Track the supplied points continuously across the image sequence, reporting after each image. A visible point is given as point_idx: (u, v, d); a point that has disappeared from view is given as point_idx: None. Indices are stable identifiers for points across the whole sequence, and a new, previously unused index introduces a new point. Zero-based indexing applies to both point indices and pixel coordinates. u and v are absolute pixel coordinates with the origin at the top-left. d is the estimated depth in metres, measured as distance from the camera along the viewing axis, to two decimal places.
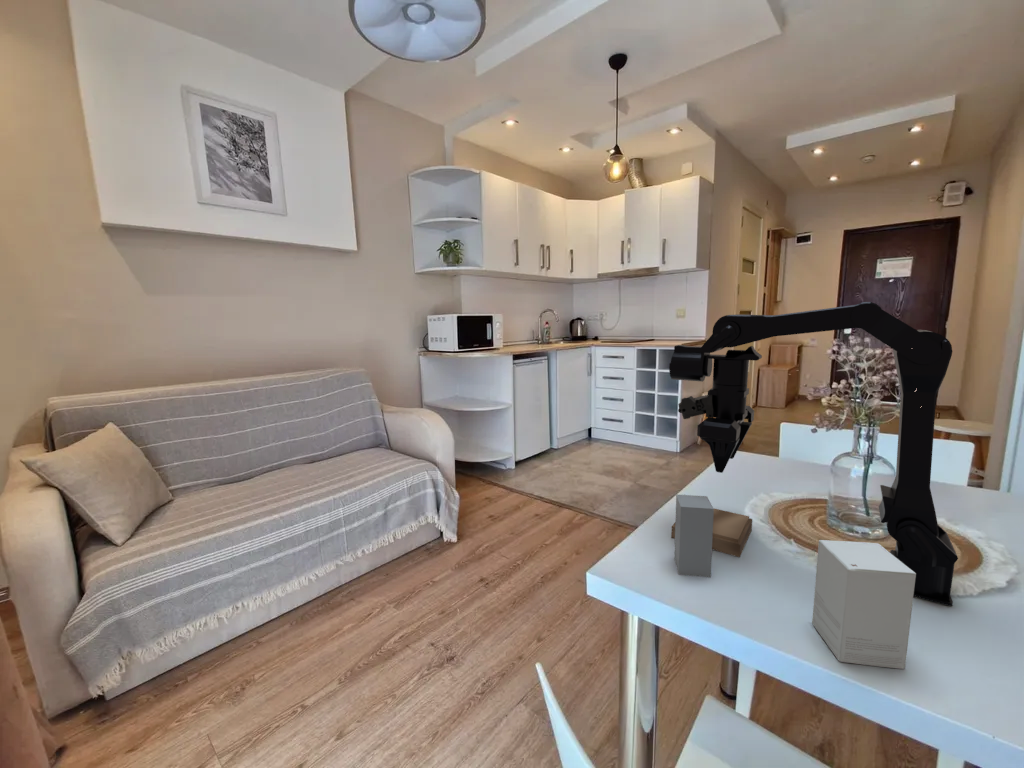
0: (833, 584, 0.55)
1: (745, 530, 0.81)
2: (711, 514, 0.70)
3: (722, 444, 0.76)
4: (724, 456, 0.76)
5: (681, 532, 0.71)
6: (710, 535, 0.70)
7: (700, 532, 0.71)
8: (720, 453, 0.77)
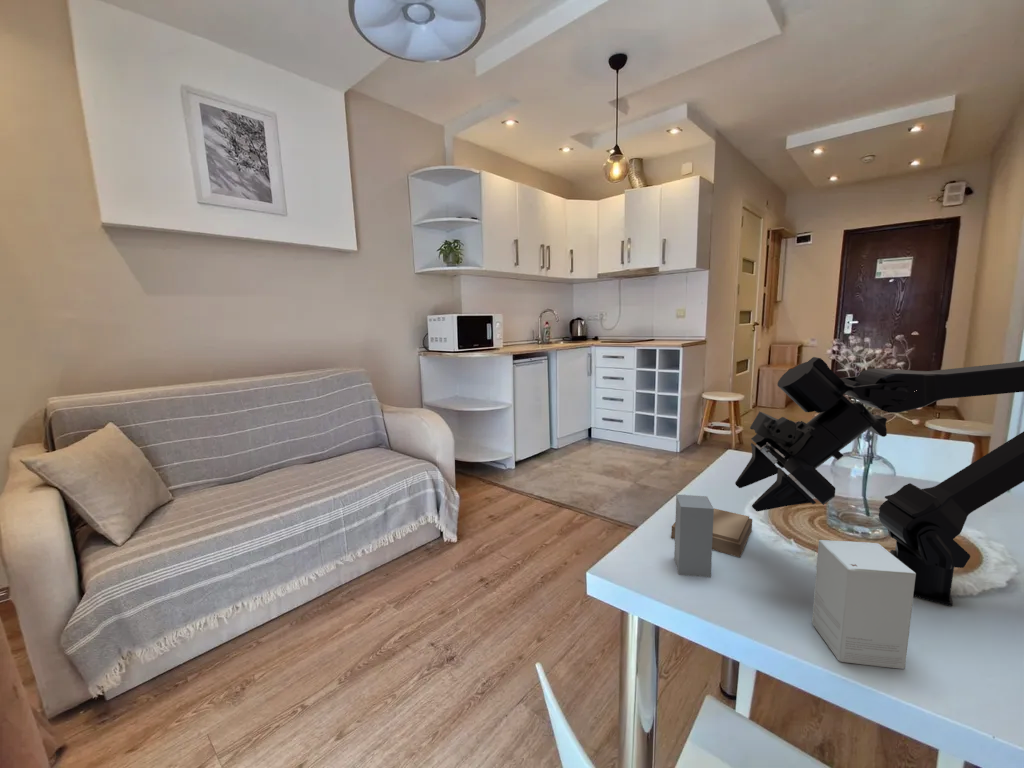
0: (833, 584, 0.55)
1: (745, 530, 0.81)
2: (711, 514, 0.70)
3: (790, 491, 0.63)
4: (780, 502, 0.64)
5: (681, 532, 0.71)
6: (710, 535, 0.70)
7: (700, 532, 0.71)
8: (779, 497, 0.64)
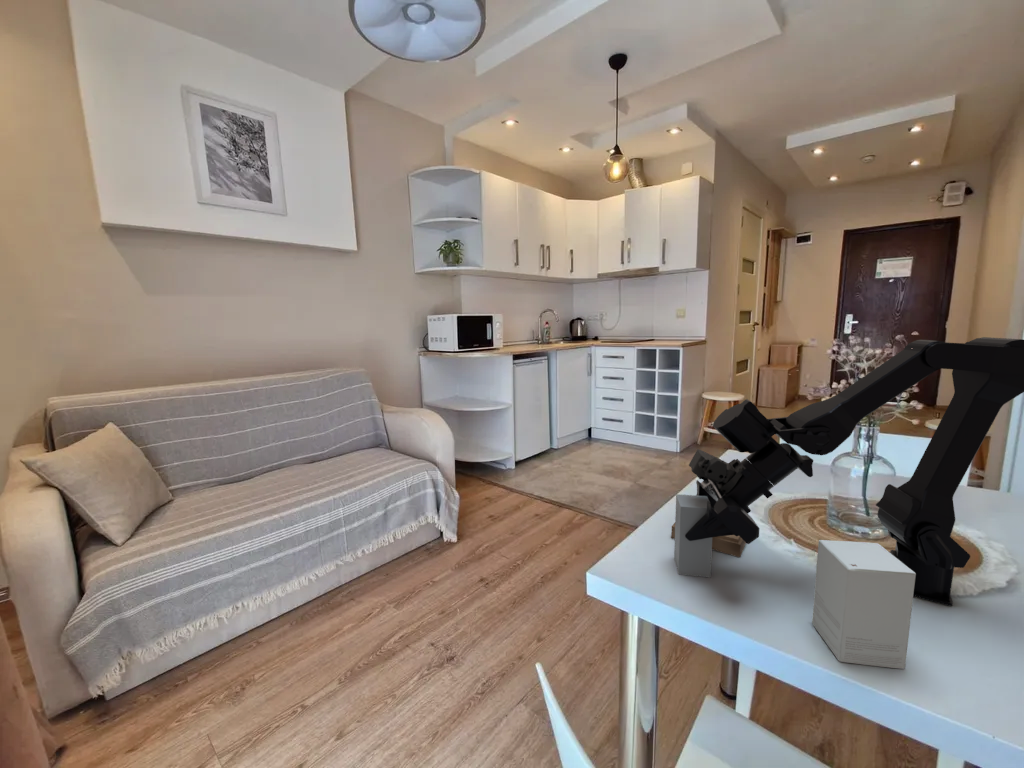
0: (833, 584, 0.55)
1: None
2: None
3: (718, 523, 0.68)
4: (709, 533, 0.69)
5: (681, 532, 0.71)
6: None
7: None
8: (708, 528, 0.69)
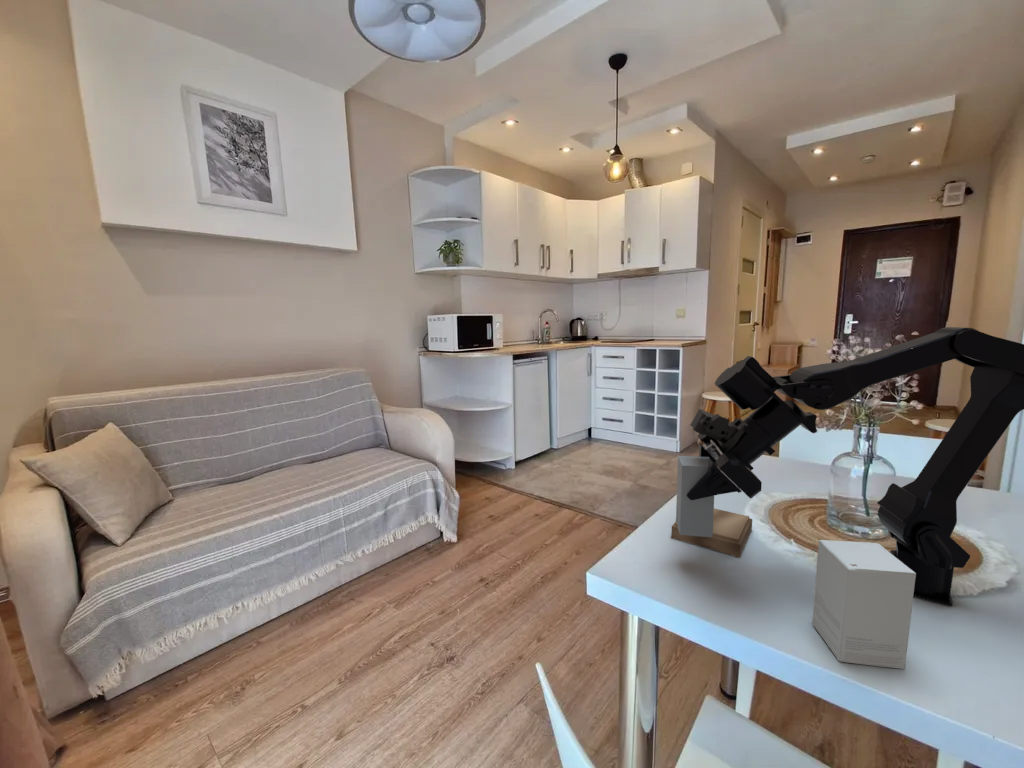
0: (833, 584, 0.55)
1: (745, 530, 0.81)
2: None
3: (720, 481, 0.68)
4: (710, 491, 0.68)
5: (682, 491, 0.71)
6: None
7: None
8: (710, 486, 0.68)
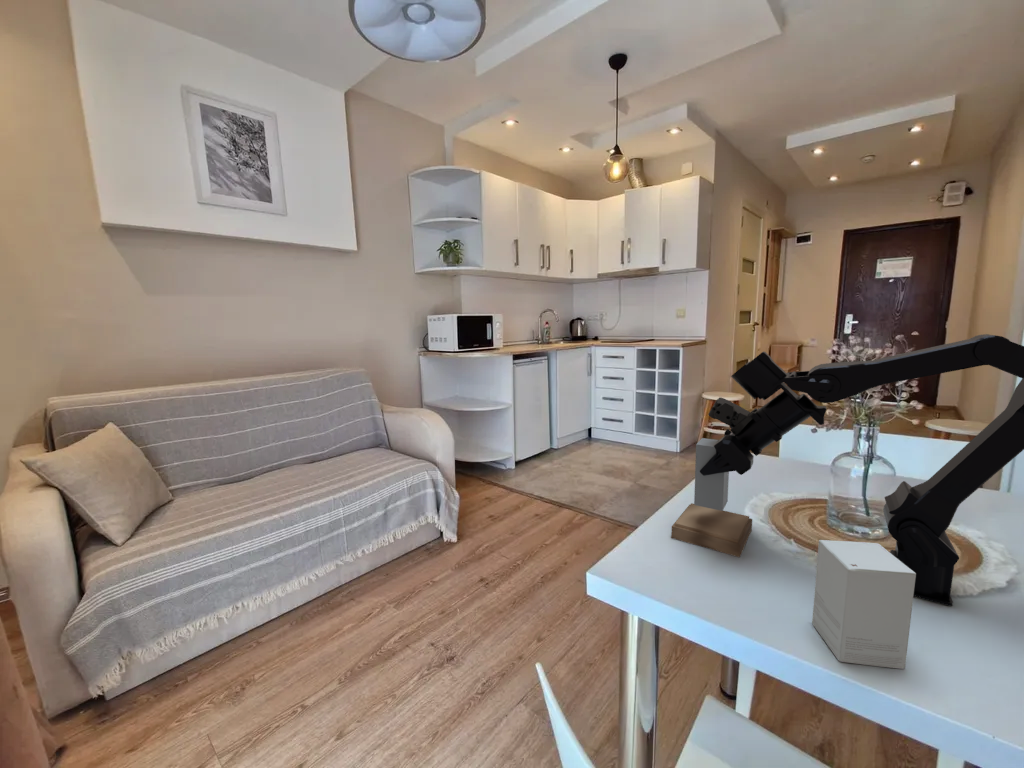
0: (833, 584, 0.55)
1: (745, 530, 0.81)
2: None
3: (726, 460, 0.77)
4: (718, 469, 0.78)
5: (696, 467, 0.81)
6: None
7: None
8: (717, 464, 0.78)
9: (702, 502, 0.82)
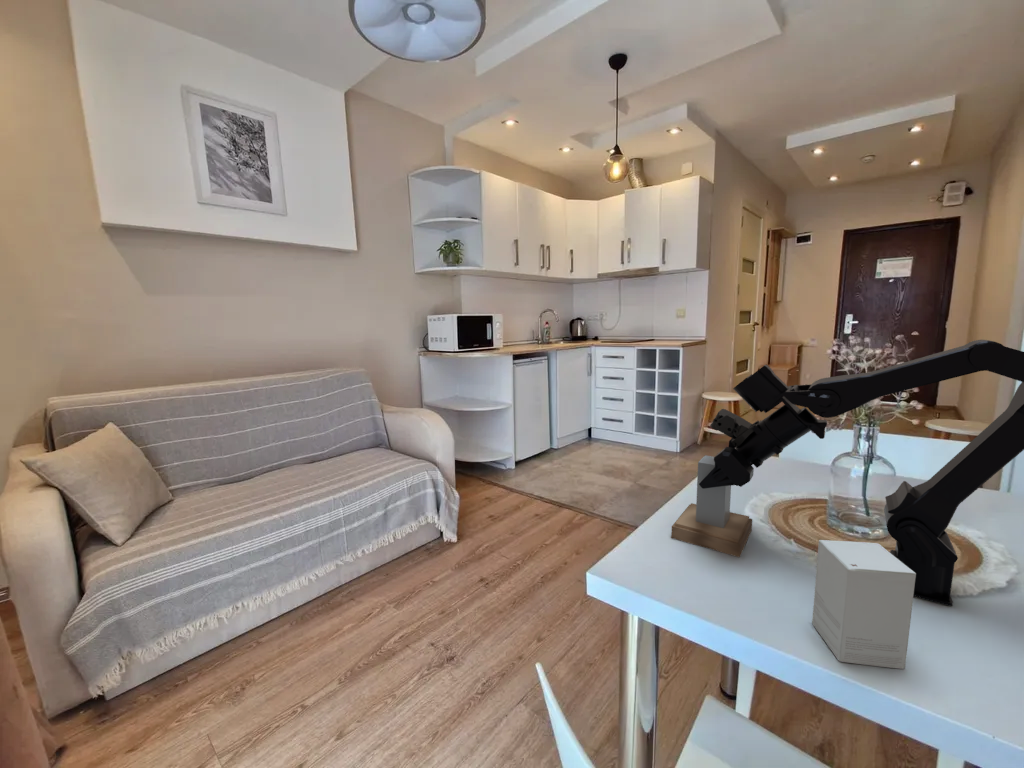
0: (833, 584, 0.55)
1: (745, 530, 0.81)
2: None
3: (725, 474, 0.77)
4: (717, 482, 0.78)
5: (698, 484, 0.83)
6: (723, 490, 0.80)
7: (714, 487, 0.81)
8: (716, 478, 0.78)
9: (703, 519, 0.83)
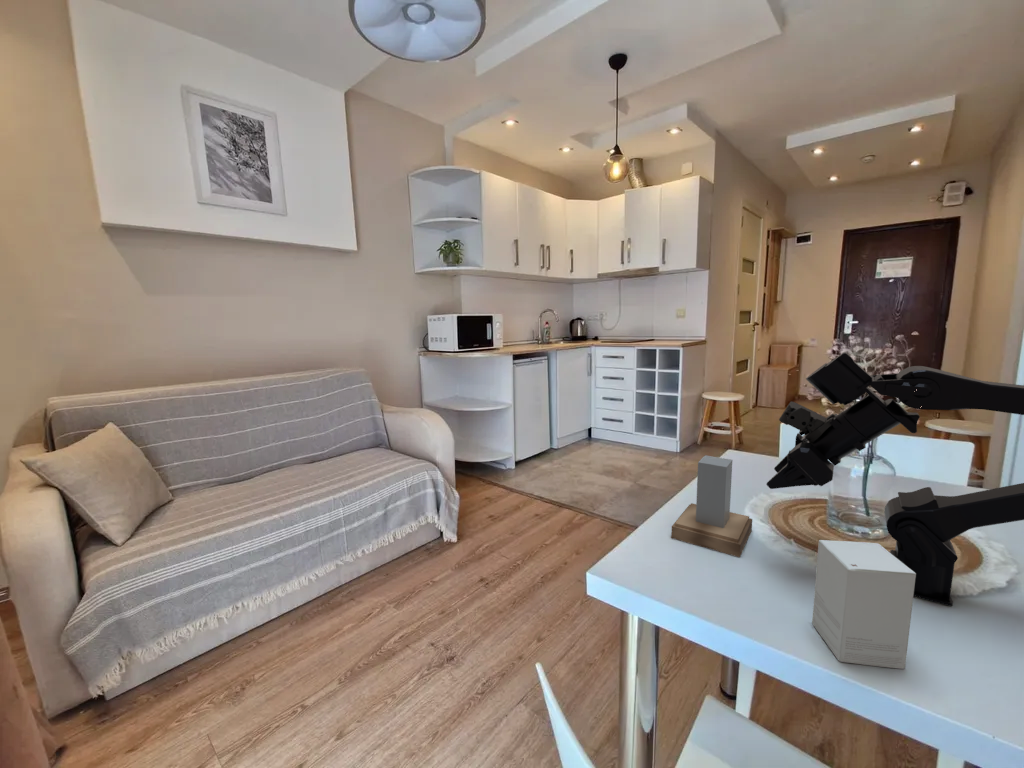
0: (833, 584, 0.55)
1: (745, 530, 0.81)
2: (724, 471, 0.80)
3: (799, 473, 0.70)
4: (789, 482, 0.71)
5: (698, 484, 0.83)
6: (723, 490, 0.80)
7: (714, 487, 0.81)
8: (788, 477, 0.71)
9: (703, 519, 0.83)
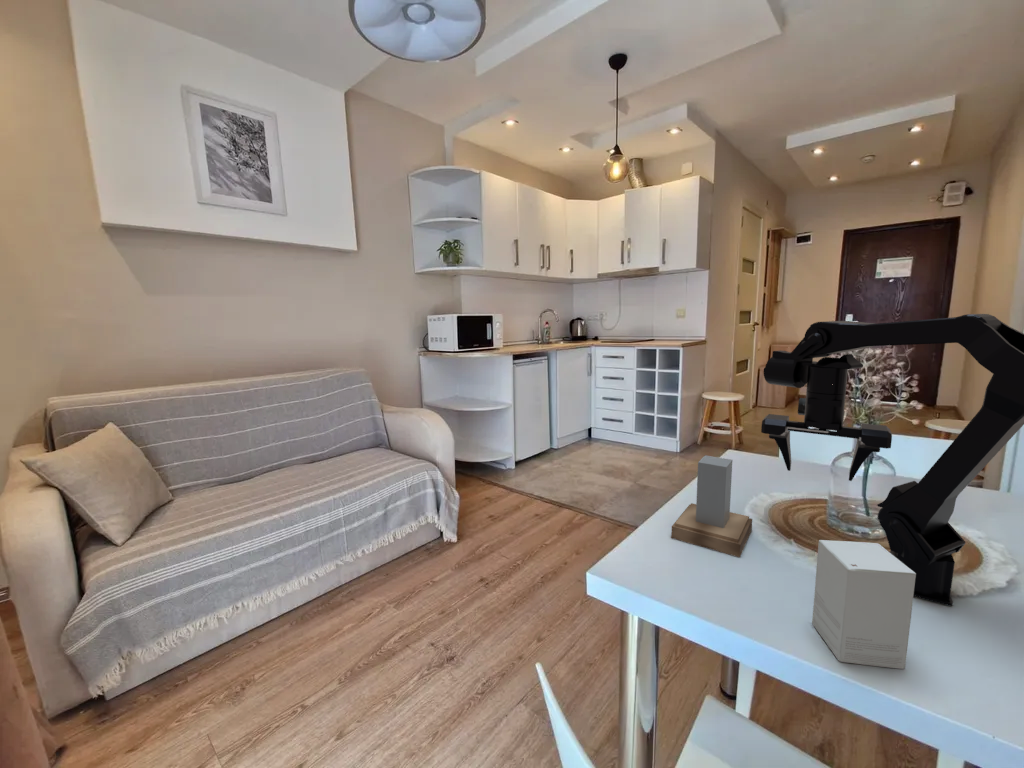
0: (833, 584, 0.55)
1: (745, 530, 0.81)
2: (724, 471, 0.80)
3: None
4: None
5: (698, 484, 0.83)
6: (723, 490, 0.80)
7: (714, 487, 0.81)
8: None
9: (703, 519, 0.83)
